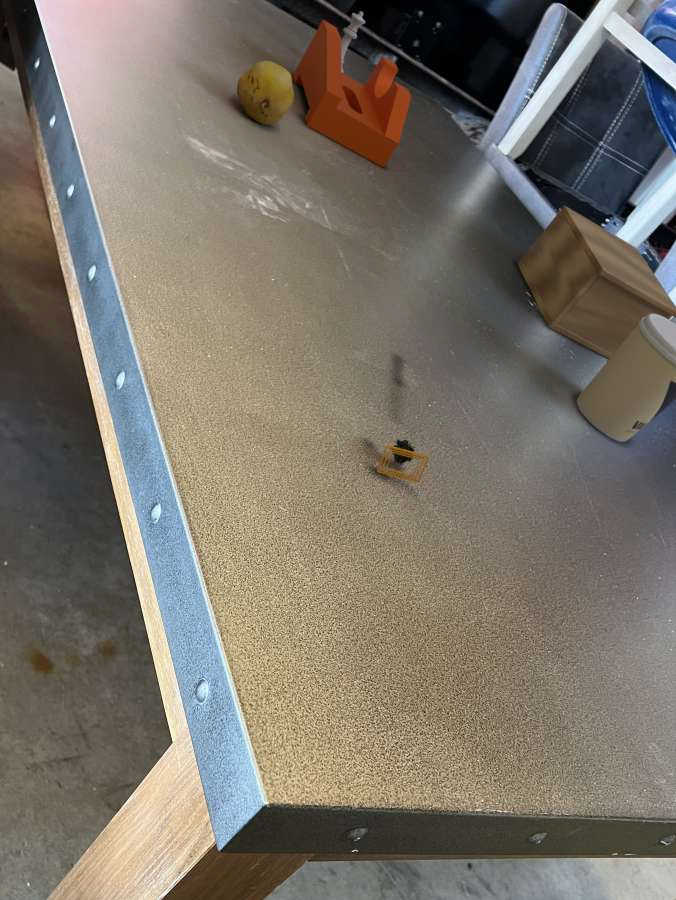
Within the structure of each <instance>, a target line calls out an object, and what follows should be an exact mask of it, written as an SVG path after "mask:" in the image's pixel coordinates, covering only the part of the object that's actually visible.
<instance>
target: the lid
mask: <svg viewBox="0 0 676 900" xmlns="http://www.w3.org/2000/svg"><path fill="white" fill-rule="evenodd" d="M560 211H561V212H562V214H563V215H564V217H565V219H566V220H567V222H568V224H569V225H570V227H571V229H572V230H573V232H574V234H575V235H576V237H577V239H578V240H579V242H580V244H581V245H582V247H583V249H584V251H585V252H586V254H587V256H588V257H589V259H590V261H591V262H592V264H593V266H594V267H595V269H596V271H597V272H598V274H599V275H601V276H602V277H604V278H606V279H608V280H609V281H611V282H613V283H615V284H616V285H618V286H620V287H622V288H624V289H625V290H627V291H629V292H631V293H632V294H634V295H636V296H638V297H639V298H641V299H643V300H645V301H647V302H648V303H650V304H652V305H654V306H655V307H657V308H659V309H661V310H663V311H664V312H666V313H668V314H670V315H671V316H672V317H673V318H675V319H676V304H675V303H674V302H673V300H672V299H671V297H670V296H669V294H668V292H667V291H666V290H665V288H664V287H663V285H662V284H661V282H660V280H659V279H658V278H657V276H656V274H655V273H654V272H653V271H652V269H651V267H650V266H649V264H648V263H647V261H646V260H645V258H644V257H643V256H642V254H641V253H640V251H639V250H638V247H636V246H634V245H632V244H631V243H629V242H627V241H625V240H624V239H622V238H620V237H619V236H618V235H616V234H614V233H612V232H611V231H609V230H607V229H605V228H604V227H602V226H600V225H599V224H597V223H596V222H593V221H592V220H590V219H588V218H587V217H585V216H583V215H582V214H580V213H579V212H577V211H574V210H573V209H571V208H569V207H568V206H566V205H563V206H562V208H560Z"/></svg>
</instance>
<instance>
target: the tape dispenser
mask: <svg viewBox="0 0 676 900" xmlns="http://www.w3.org/2000/svg"><path fill="white" fill-rule="evenodd" d="M341 40H342V38H341V35H340V33H339V31H338V28H337V26H334V25H333V24H331V23H329V22H328V21H327V20H325V19H322V21H321V22H320V24H319V27H318V28H317V30H316V31H315V33H314V36H313V37H312V39H311V41H310V42H309V45H308V47H307V48H306V51H305V52H304V54H303V56H302V58H301V60H300V61H299V63H298V65H297V67H296V69H295V71H294V73H293V75H292V79H293V82H294V83H295V84H297V85H298V86H300V87H302V88H303V89H304V93H305V96H306V100H307V104H308V106H309V109H308V111H307V113H306V114H305V116H304V120H305V124H306V126H307V127H309V128H311V129H313V130H315V131H316V132H318V133H320V134H322V135H324V136H325V137H327V138H329V139H331V140H333V141H335V142H336V143H338V144H340V145H342V146H343V147H345V148H347V149H349V150H351V151H353V152H354V153H357V154H359V155H360V156H362V157H363V158H365V159H366V160H369V161H371V162H373V163H375V164H377V165H378V166H380V167H382V168H384V167H385V166H386V165H387V163H388V161H389V160H390V158H391V157H392V155H393V153H394V152H395V150H396V149H397V147H398V146H399V144H400V142H401V141H400V140H401V137H402V133H403V131H404V125H405V123H406V120H407V119H406V118H407V116H408V111H409V107H410V103H411V101H412V95H411V92H410V89H408V88H407V87H405V86H403V85H402V84H400V83H399V82H396V81H394V79H395V78H396V75H397V74H398V71H399V68H398V65H397V64H396V62H394V61H392V60H391V59H389V58H387V57H386V56H384V55H381V57H380V59H378V62H377V64H376V65H375V67H374V68H373V70H372V72H371V74H370V76H369V77H368V79H367V80H366V82H365V84H363V83H361V82H359V81H357V80H356V79H354V78H352V77H350V76H349V75H347V74H345V73H344V72H343V73H342V72H341Z"/></svg>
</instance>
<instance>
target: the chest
mask: <svg viewBox="0 0 676 900" xmlns="http://www.w3.org/2000/svg"><path fill="white" fill-rule="evenodd" d="M517 266H518V269H519V271H520V273H521V275H522V276H523V278H524V281H525V283H526V285H527V287H528V289H529V290H530V292H531V295H532V296H533V299H534V300H535V303H536V305H537V307H538V309H539V311H540V313H541V315H542V317H543V319H544V321H545V323H546V325H547V327H548V328H549V329H551V330H553V331H555V332H557V333H559V334H561V335H562V336H564V337H566V338H567V339H570V340H572V341H574V342H576V343H578V344H579V345H582V346H583V347H586V348H587V349H589V350H591V351H593V352H595V353H597V354H599V355H601V356H603V357H605V358H607V359H608V360H609V359H610V357H611V356H612V355H613V354H614V353H615V351H616V350H617V349H618V348H619V347H620V345H621V344H622V343H623V342H624V341H625V339H626V338H627V337H628V336H629V335H630V334H631V332H632V331H633V330H634V329H635V328H636V327H637V326H638V324H639V321H640V320H641V319H642V318H643V317H647V316H648V315H649V314H658V315H660V316H663V317H665V318H666V319H668V320H670V319H671V318H672V317H673V316H671V315H670V314H668V313H666V312H664V311H663V310H661V309H659V308H657V307H655V306H654V305H652V304H650V303H648V302H647V301H645V300H643V299H641V298H639V297H638V296H636V295H634V294H632V293H631V292H629V291H627V290H625V289H624V288H622V287H620V286H618V285H616V284H615V283H613V282H611V281H609V280H608V279H606V278H604V277H602V276H601V275H599V274H598V272H597V271H596V269H595V267H594V266H593V264H592V262H591V261H590V259H589V257H588V256H587V254H586V252H585V251H584V249H583V247H582V245H581V244H580V242H579V240H578V239H577V237H576V235H575V234H574V232H573V230H572V229H571V227H570V225H569V224H568V222H567V220H566V219H565V217H564V215H563V214H562V212H561V210H559V211H558V212H557V213H556V215H555V216H554V217H553V219H551V221H550V222H549V223H548V225H547V226H546V227H545V229H544V230H543V231H542V232H541V234H540V235H539V236H538V238H537V239H536V240H535V241H534V242H533V244H532V245H531V246H530V247H529V249H528V250H527V252H525V253H524V255H523V256H522V258H521V259H520V260H519V261H518V263H517Z"/></svg>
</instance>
